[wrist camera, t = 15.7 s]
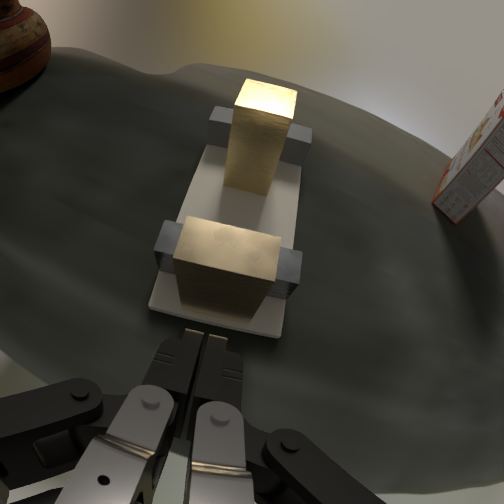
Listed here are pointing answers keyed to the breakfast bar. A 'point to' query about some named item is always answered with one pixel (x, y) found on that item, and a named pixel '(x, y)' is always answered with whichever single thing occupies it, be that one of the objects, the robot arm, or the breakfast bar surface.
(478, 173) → the cracker box
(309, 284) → the breakfast bar surface
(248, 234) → the sliding jaw
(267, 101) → the brass block
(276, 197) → the vise
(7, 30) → the brown vase
